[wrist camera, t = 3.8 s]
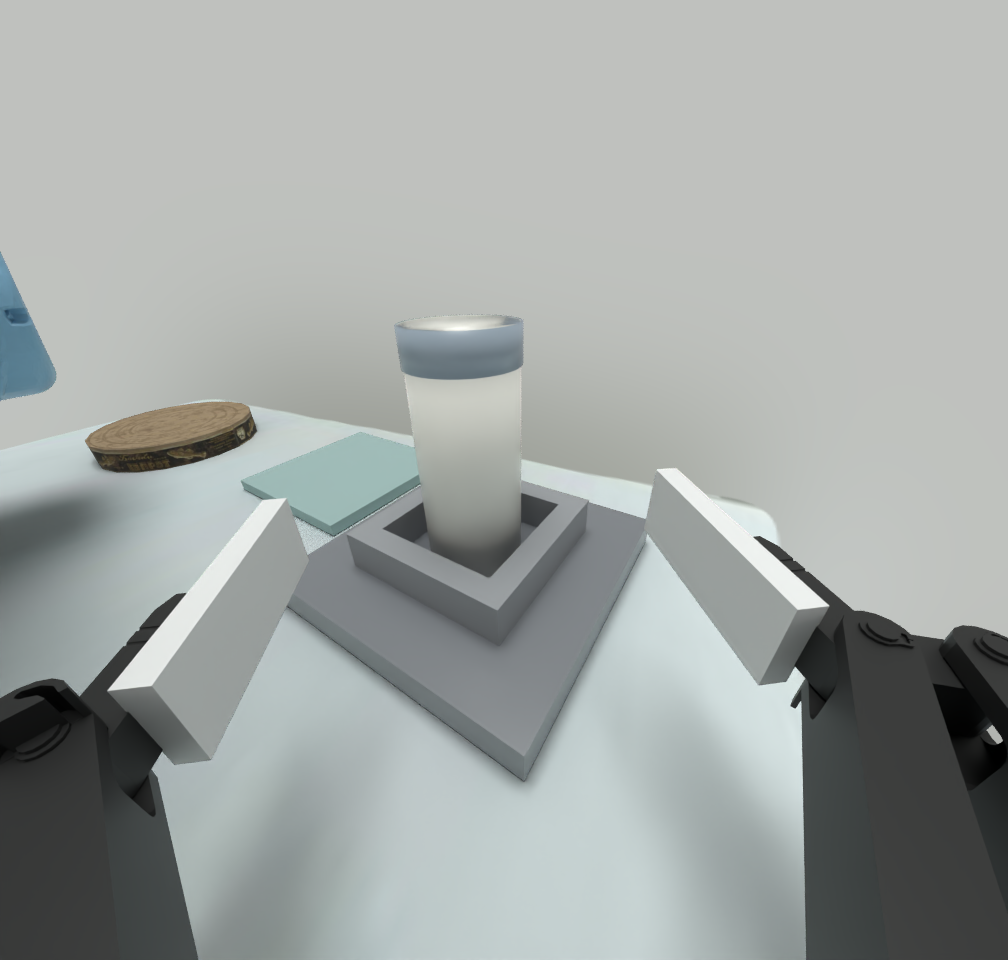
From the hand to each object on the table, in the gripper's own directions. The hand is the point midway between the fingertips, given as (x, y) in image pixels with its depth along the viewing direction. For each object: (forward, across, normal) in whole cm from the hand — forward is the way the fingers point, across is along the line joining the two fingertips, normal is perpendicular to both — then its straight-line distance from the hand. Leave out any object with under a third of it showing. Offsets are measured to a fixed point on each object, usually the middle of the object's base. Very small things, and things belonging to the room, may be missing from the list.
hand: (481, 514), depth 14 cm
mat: (+24, -12, -10) cm, 29 cm away
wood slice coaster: (+36, -35, -11) cm, 52 cm away
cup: (+8, 0, -8) cm, 12 cm away
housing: (+8, 0, -10) cm, 13 cm away
